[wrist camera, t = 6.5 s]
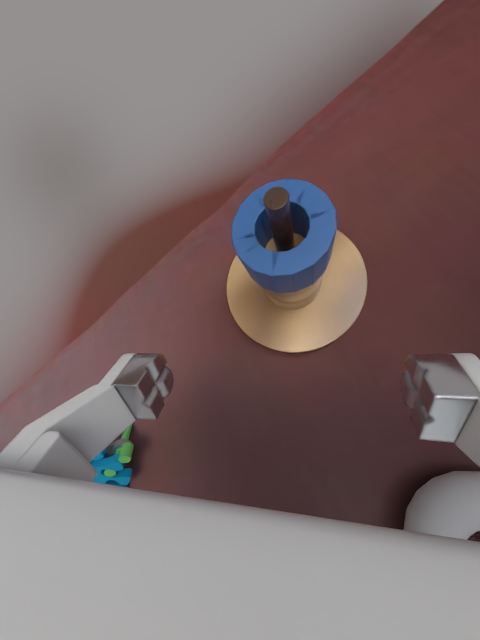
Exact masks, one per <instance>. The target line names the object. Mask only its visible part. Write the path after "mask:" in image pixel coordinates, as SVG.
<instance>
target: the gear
mask: <svg viewBox="0 0 480 640" xmlns="http://www.w3.org/2000/svg"><path fill="white" fill-rule="evenodd" d="M132 425H133V424H131V425H130V426H129V427H128V428H127V429H126V430H125V431H124V432H123V433H122V436H121V439H119V440H116V441H113V442H112V443H110V444H109V445H108V446H107V447H106V448H105V449H104V450H103V451H102V452H101V453H99V454H98V455H97V456H96V457H95V458H94V459H93V460H92V461H91V462H90V464H91V465H92V466H93V467H94V468H95V469H96V470H97V476H96V478H95V479H94V481H93V482H96V483H102V484H109V485H115V486H122V487H128V485H127V484H128V483H129V482H130V479H131V474H132V469H130V468H124V469H123V467H124V463H128V462H130V461H131V457H132V453H133V448H134V445H133V444H132V442H131V441H130V440H129V436H130V432H131V428H132Z"/></svg>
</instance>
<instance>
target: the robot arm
mask: <svg viewBox="0 0 480 640" xmlns="http://www.w3.org/2000/svg"><path fill="white" fill-rule="evenodd" d="M166 362H167V361H166V359H165V357H164V355H162V354H145V353H137V354H134V353H126V354H124V355H122V356H121V357H120V358H119V360H118V361H117V362H116V363H115V365H114V366H113V367H112V368H111V369H110V371H109V372H108V373H107V374H106V375H105V377H104V378H103V379H102V380H101V381H100V383H99V384H98V385H93V386H92V387H90V388H88V389H87V390H85V391H83V392H82V393H80V394H78V395H77V396H75V397H73V398H72V399H70V400H68V401H67V402H65V403H63V404H62V405H60V406H58V407H57V408H55V409H53V410H52V411H50V412H48V413H47V414H45V415H43V416H42V417H40V418H38V419H37V420H35V421H33V422H32V423H30V424H29V425H27V426H25V427H24V428H23V429H22V430H21V431H20V432H19V433H18V434H17V435H16V436H15V438H14V439H13V440H12V441H11V442H10V443H9V444H8V445H7V446H6V447H5V448H4V449H3V450H2V451H1V452H0V640H480V542H477V541H471V540H464V539H458V538H451V537H445V536H438V535H432V534H425V533H419V532H412V531H406V530H400V529H393V528H387V527H380V526H374V525H367V524H361V523H354V522H348V521H341V520H335V519H329V518H322V517H316V516H309V515H303V514H296V513H290V512H283V511H277V510H270V509H264V508H258V507H251V506H245V505H238V504H232V503H225V502H219V501H212V500H206V499H199V498H193V497H187V496H180V495H174V494H167V493H161V492H154V491H148V490H141V489H135V488H128V487H122V486H115V485H109V484H102V483H96V482H93V481H94V479H95V478H96V476H97V470H96V469H95V468H94V467H93V466H92V465H91V464H90V462H91V461H92V460H93V459H94V458H95V457H96V456H97V455H98V454H99V453H101V452H102V451H103V450H104V449H105V448H106V447H107V446H108V445H109V444H110V443H112V442H113V441H114V440H115V439H116V438H117V437H118V436H119V435H120V434H121V433H122V432H124V431H125V430H126V429H127V428H128V427H129V426H130V425H131V424H132V423H133V422H135V421H136V419H147V420H156V419H157V418H158V416H159V414H160V412H161V410H162V408H163V406H164V401H163V399H164V398H165V397H167V396H168V395H169V394H170V392H171V390H172V387H173V381H174V380H173V374H172V372H171V370H170V369H169V368H168V367H166V366H165V365H166ZM405 365H406V367H407V369H408V370H407V371H406V372H405V373H403V374H402V378H401V393H402V397H403V400H404V403H405V405H406V406H407V407H409V408H410V409H411V410H412V411H413V412H412V415H411V421H412V423H413V426H414V428H415V430H416V433H417V435H418V438H419V439H421V440H431V441H441V442H451V443H455V445H456V446H457V447H458V448H459V449H460V450H461V451H462V452H464V453H465V454H466V455H467V456H468V457H469V458H470V459H471V460H472V461H473V462H474V463H475V464H476V465H478V466H479V467H480V360H479V359H478V357H477V356H476V355H474V354H472V353H450V354H409V355H408V356H407V358H406V362H405Z"/></svg>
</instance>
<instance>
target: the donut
mask: <svg viewBox="0 0 480 640" xmlns="http://www.w3.org/2000/svg"><path fill="white" fill-rule="evenodd" d="M403 530H406V531H412V532H419V533H425V534H432V535H438V536H445V537H451V538H458V539H464V540H467V539H468V538H469V537H470V536H471V535H473V534H474V533H475V532H477V531H480V471H452V472H449V473H446V474H443V475H440V476H437V477H433V478H432V479H431V480H429V481H428V482H427V483H426V484H424V485H423V486H422V487H421V488H419V489H418V490H417V491H416V493H415V494H414V496H413V498H412V500H411V502H410V503H409V505H408V507H407V509H406V515H405V522H404V529H403Z"/></svg>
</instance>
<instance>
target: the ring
mask: <svg viewBox="0 0 480 640" xmlns="http://www.w3.org/2000/svg"><path fill="white" fill-rule="evenodd" d="M273 187H283V188H285V189H286V190H287V191H288V193H289V200H290V209H291V218H292V227H293V232H294V233H298V234H300V235H301V236H303V237H304V238H305V239H304V240H303V241H302V242H301V243H300V244H299V245H298V246H297V247H295V248H293V249H291V250H289V251H282V252H274V251H271V250H268V249H265V248H266V245H267V243H268V242H269V241H270V240H271V239H272V238H273V235H272V232H271V228H270V224H269V221H268V217H267V213H266V210H265V206H264V202H263V198H264V195H265V193H266V192H267V191H268V190H269V189H271V188H273ZM336 230H337V223H336V211H335V208H334V206H333V204H332V202H331V201H330V199H329V197H328V196H327V194H325V192H323V191H322V190H320V189H319V188H317V187H316V186H314V185H313V184H312V183H310V182H306V181H301V180H296V179H285V180H279V181H273V182H269V183H268V184H266V185H264V186H262V187H260V188H258V189H256V190H255V191H253V192H252V193H251V194H250V195H249V196H248V197H247V198H246V199H245V201H244V202H243V203H242V204H241V205H240V207H239V209H238V211H237V213H236V216H235V218H234V220H233V224H232V244H233V246H234V248H235V251H236V253H237V256H238V258H239V259H240V261H241V262H242V264H243V265H244V267H245V268H246V270H247V272H248V273H249V275H250V276H251V278H252V279H253V280H254V281H255V282H257V283H258V284H259V285H260V286H261V287H263V288H264V289H267V290H270V291H273V292H276V293H294V292H298V291H300V290H302V289H304V288H307V287H309V286H311V285H313V284H314V283H315V282H316V281H317V280H318V279H319V278H320V277H321V276H322V275H323V274H324V272H325V271H326V268H327V266H328V263H329V261H330V258H331V254H332V250H333V245H334V240H335V235H336Z"/></svg>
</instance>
